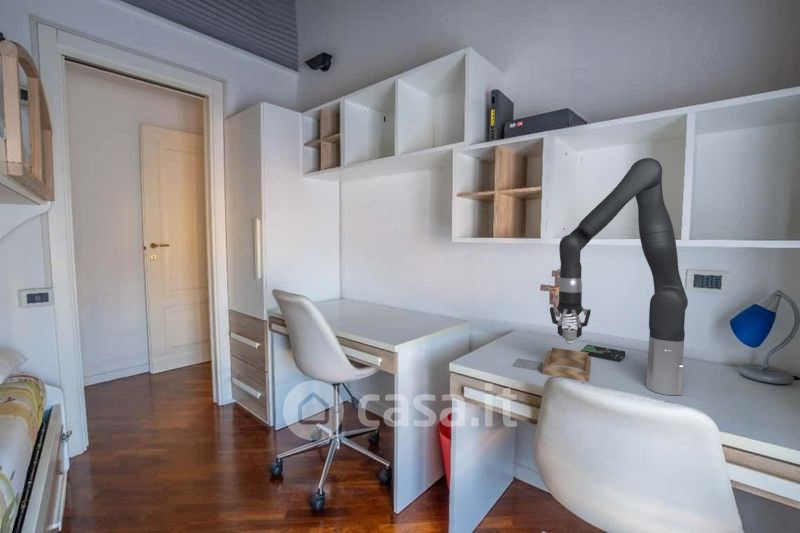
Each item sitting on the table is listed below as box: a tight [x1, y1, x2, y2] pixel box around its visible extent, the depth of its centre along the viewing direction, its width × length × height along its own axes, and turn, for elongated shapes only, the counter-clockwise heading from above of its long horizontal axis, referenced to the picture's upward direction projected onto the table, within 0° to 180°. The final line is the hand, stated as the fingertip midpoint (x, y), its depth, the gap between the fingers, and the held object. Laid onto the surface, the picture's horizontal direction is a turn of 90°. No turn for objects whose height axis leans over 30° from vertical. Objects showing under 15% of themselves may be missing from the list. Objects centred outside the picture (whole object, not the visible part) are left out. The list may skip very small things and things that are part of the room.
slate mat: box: [512, 357, 543, 371], centre depth 148 cm, size 9×9×1 cm
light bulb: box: [561, 313, 578, 345], centre depth 139 cm, size 6×6×12 cm
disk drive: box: [580, 344, 626, 363], centre depth 160 cm, size 10×3×15 cm
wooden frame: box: [541, 347, 592, 383], centre depth 141 cm, size 15×15×6 cm
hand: (569, 336), depth 140 cm, fingers closed on light bulb, 5 cm apart
